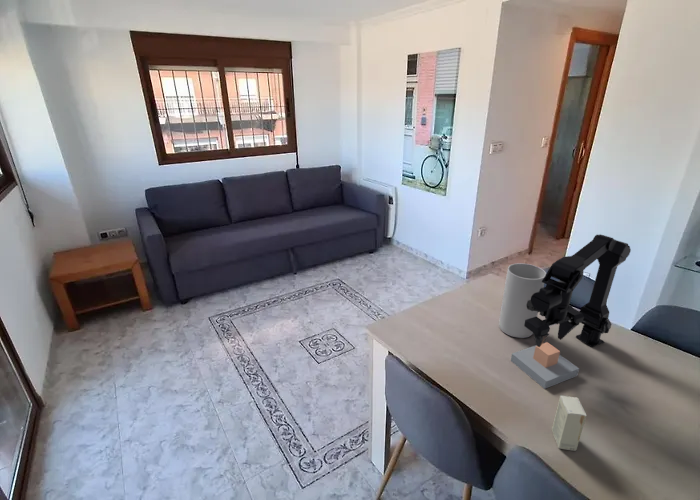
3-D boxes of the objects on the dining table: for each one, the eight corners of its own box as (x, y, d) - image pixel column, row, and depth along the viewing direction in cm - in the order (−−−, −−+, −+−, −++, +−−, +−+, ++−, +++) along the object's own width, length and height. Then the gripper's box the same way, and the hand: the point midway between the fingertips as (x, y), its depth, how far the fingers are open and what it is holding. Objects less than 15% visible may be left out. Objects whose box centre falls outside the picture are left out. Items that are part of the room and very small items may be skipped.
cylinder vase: (539, 338, 135) (553, 279, 125) (505, 339, 135) (515, 279, 125) (525, 319, 146) (536, 263, 136) (493, 319, 147) (502, 263, 136)
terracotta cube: (544, 354, 123) (547, 342, 121) (557, 363, 119) (560, 351, 116) (533, 358, 121) (535, 346, 119) (545, 367, 117) (548, 355, 115)
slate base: (541, 349, 129) (543, 342, 128) (577, 375, 117) (579, 368, 116) (510, 360, 125) (511, 353, 123) (544, 388, 113) (546, 381, 112)
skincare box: (576, 451, 93) (588, 417, 88) (558, 449, 94) (568, 414, 89) (568, 430, 99) (578, 396, 94) (550, 428, 100) (560, 394, 95)
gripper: (558, 282, 120) (549, 322, 127) (514, 294, 114) (507, 335, 121) (590, 298, 111) (578, 340, 117) (544, 312, 105) (534, 356, 111)
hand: (548, 342), depth 117 cm, fingers open, 9 cm apart
